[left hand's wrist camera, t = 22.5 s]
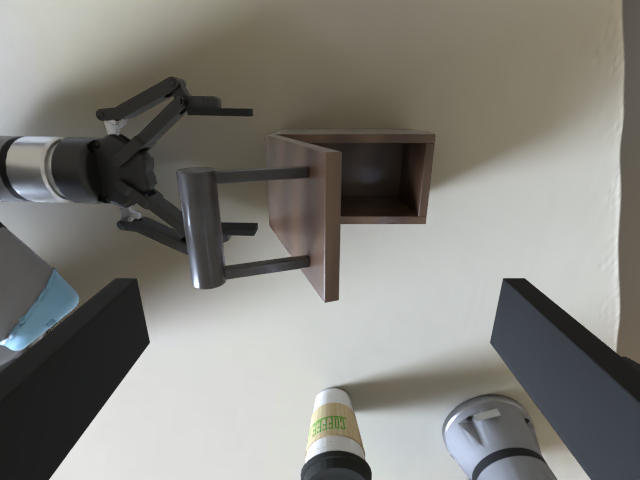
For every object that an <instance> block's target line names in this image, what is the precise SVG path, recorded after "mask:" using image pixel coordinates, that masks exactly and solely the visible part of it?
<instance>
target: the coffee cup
mask: <svg viewBox="0 0 640 480" xmlns="http://www.w3.org/2000/svg"><path fill="white" fill-rule="evenodd" d="M371 478H372V472H371V469H370V467H369V465H368V463H367V462H366V460H365V452H364V448H363V444H362V440H361V436H360V432H359V428H358V425H357V421H356V417H355V414H354V412H353V408H352V404H351V400H350V397H349V395H348V394H347V393H346V392H345V391H343V390H341V389H337V388H330V389H326V390H323V391H322V392H320V393H319V394H318V395H317V397H316V400H315V406H314V412H313V415H312V419H311V426H310V432H309V438H308V444H307V450H306V463H305V465H304V466H303V468H302V471H301V480H371Z"/></svg>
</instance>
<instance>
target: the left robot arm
mask: <svg viewBox="0 0 640 480" xmlns="http://www.w3.org/2000/svg"><path fill="white" fill-rule="evenodd" d="M149 343H150V341H149V336H148V331H147V326H146V321H145V316H144V311H143V306H142V302H141V297H140V292H139V287H138V282H137V278H115V279H114V280H113V281H112V282H110V283H109V284H108V285H107V286H105V287H104V288H103V289H102V290H101V291H99V292H98V293H97V294H96V295H94V296H93V297H92V298H91V299H90V300H88V301H87V302H86V303H85V304H83V305H82V306H81V307H80V308H78V309H77V310H76V311H75V312H74V313H72V314H71V315H70V316H69V317H67V318H66V319H65V320H64V321H62V322H61V323H60V324H59V325H58V326H56V327H55V328H54V329H53V330H51V331H50V332H49V333H48V334H46V335H45V336H44V337H43V338H42V339H40V340H39V341H38V342H37V343H35V344H34V345H33V346H32V347H31V348H29V349H28V350H27V351H26V352H24V353H23V354H22V355H21V356H19V357H18V358H14V359H12V360H10V361H8V362H6V363H5V364H3V365H1V366H0V480H49V479H50V478H51V476H52V475H53V473H54V472H55V471H56V469H57V468H58V467H59V465H60V464H61V463H62V461H63V460H64V459H65V457H66V456H67V454H68V453H69V452H70V450H71V449H72V448H73V446H74V445H75V444H76V442H77V441H78V440H79V438H80V437H81V435H82V434H83V433H84V431H85V430H86V429H87V427H88V426H89V425H90V423H91V422H92V421H93V419H94V418H95V416H96V415H97V414H98V412H99V411H100V410H101V408H102V407H103V406H104V404H105V403H106V402H107V400H108V399H109V397H110V396H111V395H112V393H113V392H114V391H115V389H116V388H117V387H118V385H119V384H120V383H121V381H122V380H123V378H124V377H125V376H126V374H127V373H128V372H129V370H130V369H131V368H132V366H133V365H134V364H135V362H136V361H137V359H138V358H139V357H140V355H141V354H142V353H143V351H144V350H145V349H146V347H147V346H148V345H149ZM490 343H491V345H492V346H493V347H494V349H495V350H496V351H497V353H498V354H499V355H500V357H501V358H502V359H503V361H504V362H505V364H506V365H507V366H508V368H509V369H510V370H511V372H512V373H513V374H514V376H515V377H516V378H517V380H518V381H519V383H520V384H521V385H522V387H523V388H524V389H525V391H526V392H527V393H528V395H529V396H530V397H531V399H532V400H533V402H534V403H535V404H536V406H537V407H538V408H539V410H540V411H541V412H542V414H543V415H544V416H545V418H546V419H547V421H548V422H549V423H550V425H551V426H552V427H553V429H554V430H555V431H556V433H557V434H558V435H559V437H560V438H561V440H562V441H563V442H564V444H565V445H566V446H567V448H568V449H569V450H570V452H571V453H572V454H573V456H574V457H575V459H576V460H577V461H578V463H579V464H580V465H581V467H582V468H583V469H584V471H585V472H586V473H587V475H588V476H589V478H590V479H591V480H640V364H638V363H636V362H635V361H633V360H631V359H629V358H627V357H621V356H619V355H618V354H617V353H616V352H614V351H613V350H612V349H611V348H609V347H608V346H607V345H606V344H605V343H603V342H602V341H601V340H600V339H598V338H597V337H596V336H595V335H594V334H592V333H591V332H590V331H589V330H587V329H586V328H585V327H584V326H582V325H581V324H580V323H579V322H578V321H576V320H575V319H574V318H573V317H571V316H570V315H569V314H568V313H566V312H565V311H564V310H563V309H562V308H560V307H559V306H558V305H557V304H555V303H554V302H553V301H552V300H550V299H549V298H548V297H547V296H546V295H544V294H543V293H542V292H541V291H539V290H538V289H537V288H536V287H535V286H533V285H532V284H531V283H530V282H528V281H527V280H526V279H525V278H503V282H502V287H501V292H500V297H499V302H498V306H497V311H496V316H495V321H494V326H493V331H492V336H491V341H490ZM442 434H443V439H444V442H445V445H446V447H447V450H448V451H449V453H450V454H451V456H452V457H453V458H454V459H455V460H456V462H457V463H458V464H459V466H460V467H461V468H462V470H463V471H464V472H465V473H466V475H467V476H468V477H469V478H470V480H557V478H556V477H555V475H554V474H553V472H552V471H551V469H550V468H549V466H548V465H547V463H546V462H545V460H544V458H543V457H542V455H541V451H540V447H539V444H538V440H537V436H536V433H535V429H534V426H533V423H532V421H531V418H530V417H529V415H528V414H527V412H526V411H525V409H524V408H523V407H522V406H521V405H520V404H519V403H518V402H516V401H515V400H513V399H510V398H508V397H504V396H498V395H486V396H480V397H476V398H473V399H470V400H468V401H466V402H464V403H462V404H460V405H459V406H457V407H456V408H455V409H454V410H453V411H452V412H451V413H450V414H449V415H448V417H447V418H446V420H445V422H444V425H443V430H442Z"/></svg>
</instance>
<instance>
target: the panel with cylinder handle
mask: <svg viewBox="0 0 640 480" xmlns="http://www.w3.org/2000/svg"><path fill="white" fill-rule="evenodd" d="M265 147H266V166H267V168H257V169H237V170H218V171H215V169H214V168H209V167H192V168H184V169H179V170H177V172H176V173H177V180H178V187H179V194H180V201H181V208H182V215H183V222H184V229H185V236H186V243H187V250H188V257H189V264H190V271H191V278H192V285H193V286H194V287H195V288H198V289H212V288H216V287H219V286H221V285H223V284H224V283H225V282H226V280H227V279H232V278H239V277H246V276H252V275H259V274H266V273H273V272H280V271H286V270H293V269H301V270H302V272H303V273H304V275H305V276H306V277H307V279H308V280H309V282H310V283H311V284H312V286H313V287H314V289H315V290H316V291H317V293H318V294H319V296H320V297H321V298H322V300H323V301H324V302H325V303H326V302H331V301H336V300H339V261H340V216H341V171H342V152H340V151H336V150H332V149H328V148H325V147H321V146H317V145H313V144H309V143H306V142H302V141H298V140H294V139H290V138H287V137H283V136H279V135H275V134H265ZM255 181H267V186H268V205H269V224H270V227H271V228H272V230H273V231H274V233H275V234H276V235H277V237H278V238H279V240H280V241H281V242H282V244H283V245H284V247H285V248H286V249H287V251H288V252H289V254H290V255H291V256H292V257H288V258H280V259H273V260H266V261H258V262H251V263H244V264H236V265H229V266H225V258H224V249H223V239H222V229H221V219H220V210H219V200H218V190H217V184H223V183H239V182H255Z"/></svg>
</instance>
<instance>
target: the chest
mask: <svg viewBox="0 0 640 480" xmlns="http://www.w3.org/2000/svg"><path fill="white" fill-rule="evenodd" d="M273 134H275V135H279V136H283V137H287V138H290V139H294V140H298V141H302V142H306V143H309V144H313V145H317V146H321V147H325V148H328V149H332V150H336V151H340V152H342V171H341V216H340V224H426V215H427V206H428V197H429V188H430V179H431V170H432V161H433V152H434V142H435V134H432V133H427V132H421V131H416V130H411V129H281V130H279V131H277V132H275V133H273Z"/></svg>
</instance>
